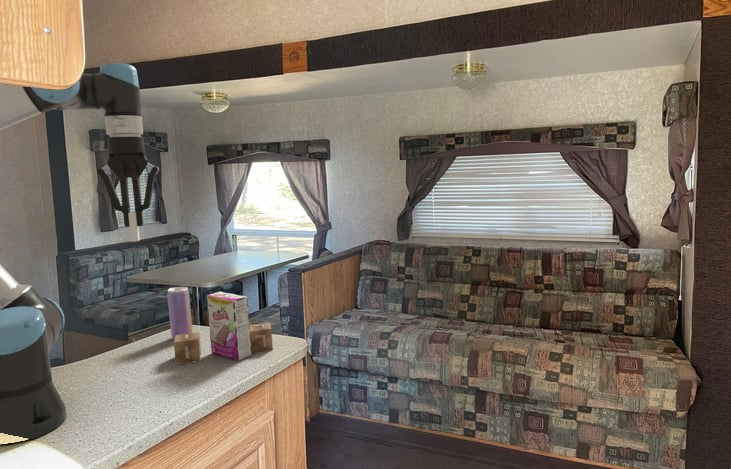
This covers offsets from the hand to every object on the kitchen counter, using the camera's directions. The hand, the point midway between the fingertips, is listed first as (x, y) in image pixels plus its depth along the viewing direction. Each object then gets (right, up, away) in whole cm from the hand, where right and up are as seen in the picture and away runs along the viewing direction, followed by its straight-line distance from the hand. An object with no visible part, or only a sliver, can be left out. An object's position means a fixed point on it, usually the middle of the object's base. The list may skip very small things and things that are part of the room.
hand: (135, 240), depth 125 cm
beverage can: (-1, -30, +36) cm, 46 cm away
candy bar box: (+17, -31, +21) cm, 41 cm away
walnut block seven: (+24, -30, +26) cm, 46 cm away
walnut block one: (+6, -32, +19) cm, 38 cm away
